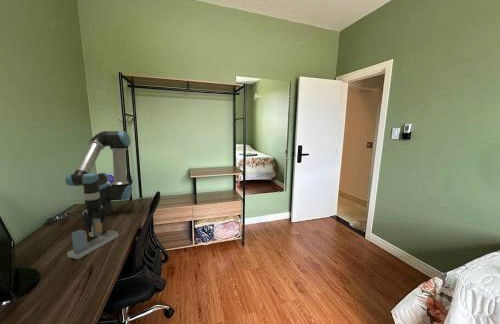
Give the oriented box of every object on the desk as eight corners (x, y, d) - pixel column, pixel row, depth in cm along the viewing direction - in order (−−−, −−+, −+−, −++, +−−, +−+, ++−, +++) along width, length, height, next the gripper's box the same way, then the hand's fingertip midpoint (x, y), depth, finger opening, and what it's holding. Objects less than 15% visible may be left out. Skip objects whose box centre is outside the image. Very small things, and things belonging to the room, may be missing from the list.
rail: (109, 234, 129) (108, 216, 127) (118, 236, 127) (117, 217, 126) (67, 257, 106) (64, 234, 104) (78, 259, 104) (75, 236, 103)
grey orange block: (90, 235, 128) (88, 220, 126) (96, 232, 132) (95, 217, 130) (96, 236, 127) (94, 221, 125) (102, 233, 131) (100, 218, 129)
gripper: (101, 193, 135) (104, 227, 139) (72, 202, 118) (76, 240, 122) (110, 195, 133) (113, 228, 137) (82, 204, 116) (86, 242, 120)
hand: (96, 234), depth 129 cm, fingers open, 5 cm apart
